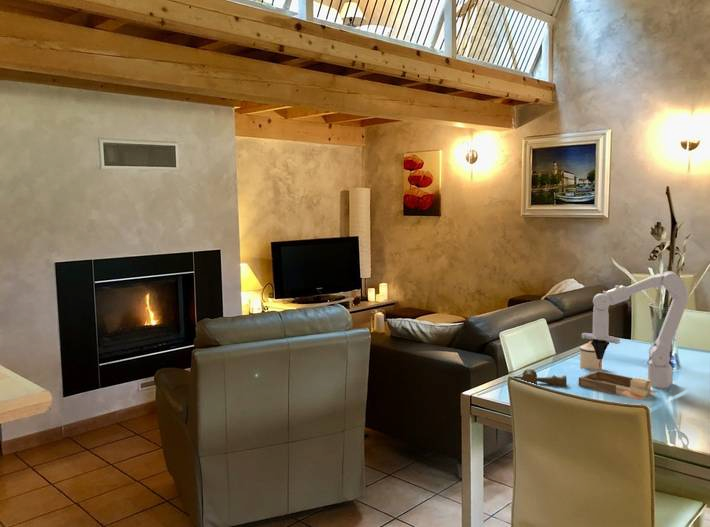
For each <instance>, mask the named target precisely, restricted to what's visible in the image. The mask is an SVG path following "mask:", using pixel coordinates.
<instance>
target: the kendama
mask: <svg viewBox="0 0 710 527" xmlns="http://www.w3.org/2000/svg"><path fill="white" fill-rule="evenodd" d="M513 377H514V378H513ZM512 378H513V379H519V380H520V381H521V380H524V381H527V382H531V383H534V384H537V385H538V382H540V383H543V384H548V385H551V386H553V387H555V386H556V387H562V388H566V387H567V382H568V380H567V375H565V374H564V375H561V376H557V375H555V374H554V375H552V376H547V377H546V376H545V377H538V374H537V372H536V371H535V370H534V369H531V368H527V369H525V370H524V371H523V372H522V376H519V375H514V376H512Z"/></svg>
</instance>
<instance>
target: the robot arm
mask: <svg viewBox="0 0 710 527" xmlns="http://www.w3.org/2000/svg"><path fill="white" fill-rule="evenodd" d="M662 286H663V288H664V289H666V290H667V292H668V293H669V295H670V296H671V298H672V300H671V302H670V306H669V308H668V311H667V313H666V315H665V318H664V321H663V323H662V325H661V328H660V331H659V334H658V337H657V338H656V340H654V341H655V342H654V343H653V344H652V345H651V346H650V347H649V349H648V354H649V357H650V360H649V361H648V362H647V379H648V380H651V388H657V389H658V388H659V389H665V388H669V387H670V386H671V385H673V383H674V382H673V381H674V380H673V378H674V369H673V367H672V365H671V364H670V360H671V354H670V353H671V350H672V343H673V340H674V337H675V336H676V332H677V330H678V328H679V325H680V322H681V319H682V317H683V315H684V312H685V310H686V307H687V304H688V302H689V294H688V291H687V289H686V284H685V282H684V280H683V279H682V277H680V276H679V275H678V274H677V273H676V272H675V271H672V270H667V271H663V272H662V273H657V274H654V275H651V276H649V277H645V278H644V279H642V280H639V281H638V282H635V283H633V284H631V285H628V286H625V285H622V284H621V285H619V284H617V285H615V286H614V288H612V289H608V290H607V291H606V290H603V291H602V293H601V292H600V293H597V294H595V295H594V296H593V299H592V304H593V309H592V311H593V312H592V333H590V332H589V333H588V332H582V333H581V339H588V340H590V341H591V340H592V341H591V344H592V346H593V347H594V350H595V353H596V356H597V359H599V360H601V359H602V360H603V359H604V356H605V352H606V350H607V348H608V346H609V345H610V344H615V345H620V343H621V338H618V337H614V336H610V335H609V330H610V328H609V326H610V325H609V323H610V322H609V320H610V318H609V317H610V313H609V307H610V306H614V305H617V304H620V303H622V302H625V301H627V300H629V299H630V297H631V295H633V294H636V293H639V292H641V291H645V290H647V289H651V288H657V289H662Z"/></svg>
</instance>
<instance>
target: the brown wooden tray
mask: <svg viewBox="0 0 710 527" xmlns="http://www.w3.org/2000/svg"><path fill="white" fill-rule="evenodd" d="M632 379H634V378H633V377H630V376H625V375H621V374H614V373H611V372H606V371H602V370H595V371H593V372H590V373H587V374H585V375H581V376H580V377H578V386H579V387H583V388H588V389H591V390H596V391H600V392H605V393H609V394H613V395H617V396H622V397H625V398H630V399H634V400H637V401H641V400H643V399H644V398H646V397H648V396H651V395H653V394H655V393H657V392H658V390H653V389H651V394H649V395H647V396H645V397H643V396H639V395H635V394H630V382H631V380H632Z"/></svg>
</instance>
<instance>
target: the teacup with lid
mask: <svg viewBox="0 0 710 527" xmlns="http://www.w3.org/2000/svg"><path fill="white" fill-rule="evenodd" d="M579 350H580V352H579V354H580V357H579V360H580V362H579V363H580V364H579V368H580V369H587V370H588V369H589V370H602V369H603V359H601V360H599V359H597V356H596V353H595V350H594V347H593V346H592V344H591V340H589V342H588V343H586V344H584V345H581V346H580V347H579Z"/></svg>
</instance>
